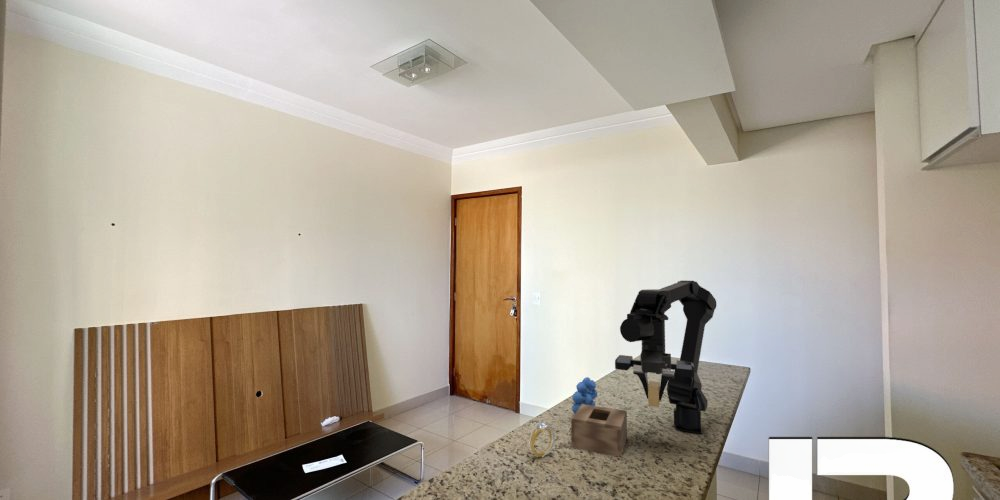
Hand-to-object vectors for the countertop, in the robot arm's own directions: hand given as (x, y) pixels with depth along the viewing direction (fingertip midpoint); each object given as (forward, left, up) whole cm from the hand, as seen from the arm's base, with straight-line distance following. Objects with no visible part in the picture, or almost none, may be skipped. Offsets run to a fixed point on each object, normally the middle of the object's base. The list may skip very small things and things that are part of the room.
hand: (654, 399), depth 99 cm
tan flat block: (0, 0, -1) cm, 1 cm away
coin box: (+13, +5, -11) cm, 18 cm away
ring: (+24, +19, -12) cm, 33 cm away
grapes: (+21, -10, -11) cm, 26 cm away
